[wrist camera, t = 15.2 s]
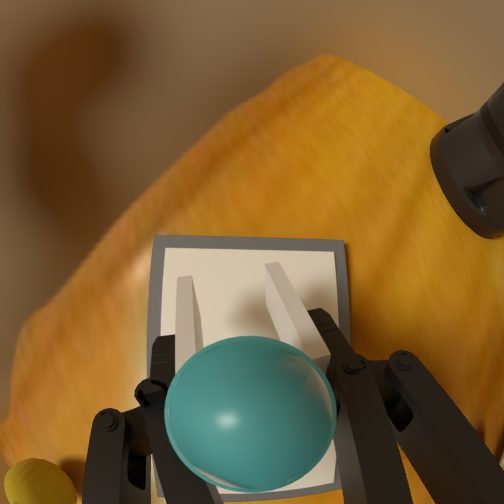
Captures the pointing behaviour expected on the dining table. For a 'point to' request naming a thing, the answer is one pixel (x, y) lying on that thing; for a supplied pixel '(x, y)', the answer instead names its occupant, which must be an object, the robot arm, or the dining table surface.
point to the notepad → (248, 308)
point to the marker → (250, 414)
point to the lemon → (39, 484)
